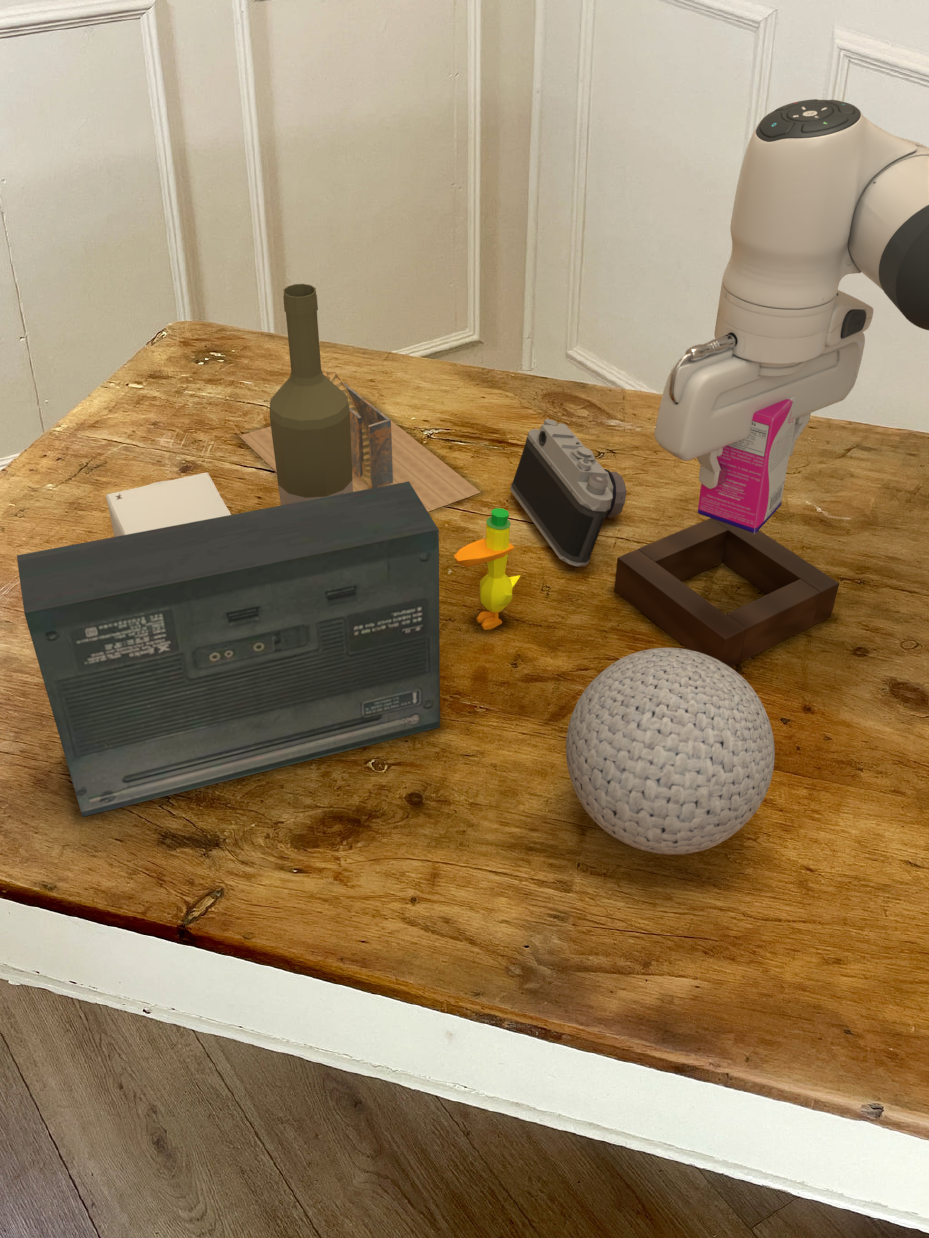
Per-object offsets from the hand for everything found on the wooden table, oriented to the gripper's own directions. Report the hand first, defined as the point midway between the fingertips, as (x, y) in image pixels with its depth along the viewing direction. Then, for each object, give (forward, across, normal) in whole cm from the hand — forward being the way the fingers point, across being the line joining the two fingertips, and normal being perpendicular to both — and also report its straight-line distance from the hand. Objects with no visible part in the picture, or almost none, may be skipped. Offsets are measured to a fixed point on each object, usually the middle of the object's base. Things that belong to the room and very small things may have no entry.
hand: (746, 469), depth 104 cm
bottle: (+15, -30, +23) cm, 41 cm away
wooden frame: (+15, 0, 0) cm, 15 cm away
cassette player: (+15, -45, +8) cm, 48 cm away
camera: (+15, -3, +18) cm, 24 cm away
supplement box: (+4, 0, 0) cm, 4 cm away
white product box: (+15, -44, +22) cm, 51 cm away
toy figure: (+15, -20, +10) cm, 27 cm away
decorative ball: (+15, -23, -17) cm, 32 cm away
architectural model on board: (+15, -16, +41) cm, 47 cm away
